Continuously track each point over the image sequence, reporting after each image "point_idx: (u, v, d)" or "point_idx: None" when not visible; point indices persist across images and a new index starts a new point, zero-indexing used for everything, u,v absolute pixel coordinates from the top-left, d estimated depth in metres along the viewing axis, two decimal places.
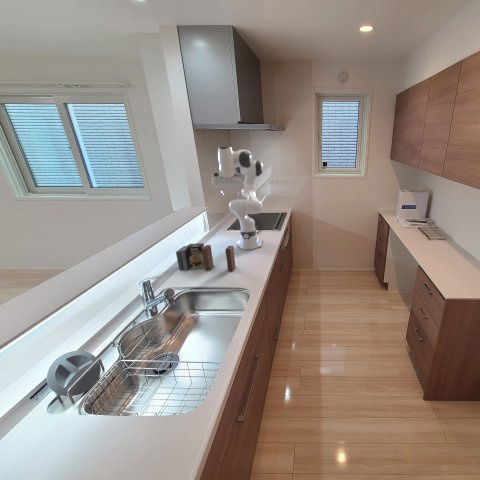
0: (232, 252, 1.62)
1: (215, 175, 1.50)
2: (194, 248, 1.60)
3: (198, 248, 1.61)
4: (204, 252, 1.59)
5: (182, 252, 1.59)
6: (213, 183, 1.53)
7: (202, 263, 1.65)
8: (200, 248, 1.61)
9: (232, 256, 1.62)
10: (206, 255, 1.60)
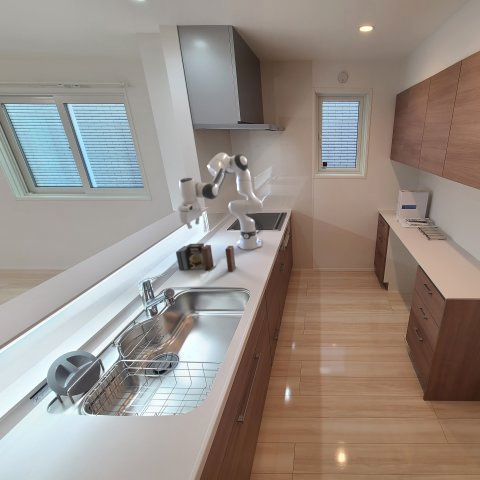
0: (232, 252, 1.62)
1: (190, 209, 1.48)
2: (194, 248, 1.60)
3: (198, 248, 1.61)
4: (204, 252, 1.59)
5: (182, 252, 1.59)
6: (187, 218, 1.47)
7: (202, 263, 1.65)
8: (200, 248, 1.61)
9: (232, 256, 1.62)
10: (206, 255, 1.60)
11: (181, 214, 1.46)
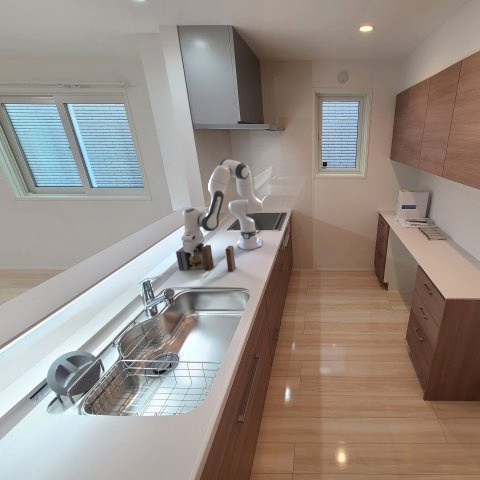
0: (232, 252, 1.62)
1: (193, 238, 1.54)
2: None
3: (198, 248, 1.61)
4: (204, 252, 1.59)
5: (182, 252, 1.59)
6: (190, 247, 1.53)
7: (202, 263, 1.65)
8: (200, 248, 1.61)
9: (232, 256, 1.62)
10: (206, 255, 1.60)
11: (184, 244, 1.52)
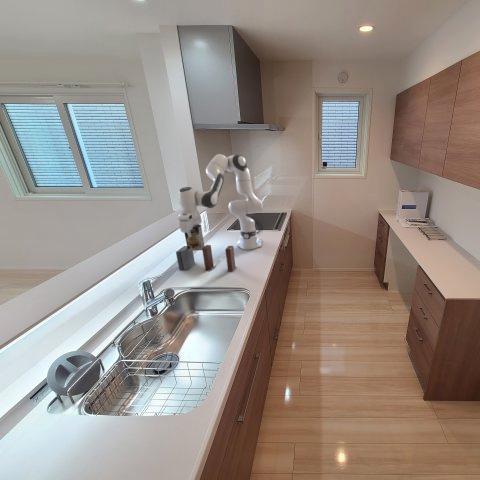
0: (232, 252, 1.62)
1: (190, 218, 1.49)
2: None
3: (195, 229, 1.56)
4: (204, 252, 1.59)
5: (182, 252, 1.59)
6: (187, 227, 1.49)
7: (199, 245, 1.60)
8: (197, 229, 1.56)
9: (232, 256, 1.62)
10: (206, 255, 1.60)
11: (181, 223, 1.47)
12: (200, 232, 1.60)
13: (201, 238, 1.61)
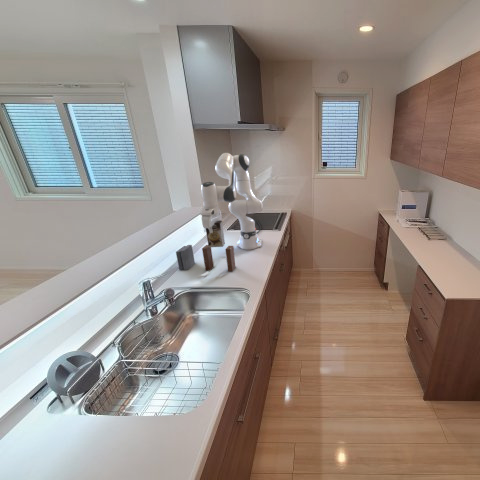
0: (232, 252, 1.62)
1: (212, 213, 1.46)
2: None
3: (216, 224, 1.53)
4: (204, 252, 1.59)
5: (182, 252, 1.59)
6: (209, 222, 1.46)
7: (220, 241, 1.56)
8: (218, 224, 1.53)
9: (232, 256, 1.62)
10: (206, 255, 1.60)
11: (203, 219, 1.44)
12: (221, 228, 1.57)
13: (222, 234, 1.58)
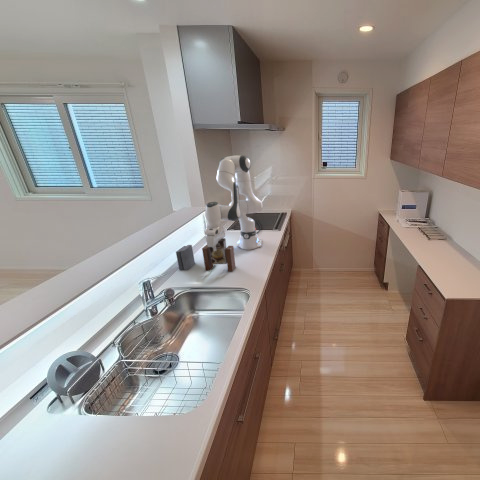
0: (232, 252, 1.62)
1: (216, 233, 1.50)
2: None
3: (220, 243, 1.57)
4: (204, 252, 1.59)
5: (182, 252, 1.59)
6: (213, 242, 1.50)
7: (224, 258, 1.61)
8: (222, 243, 1.57)
9: (232, 256, 1.62)
10: (206, 255, 1.60)
11: (207, 238, 1.48)
12: (225, 246, 1.61)
13: (225, 252, 1.62)
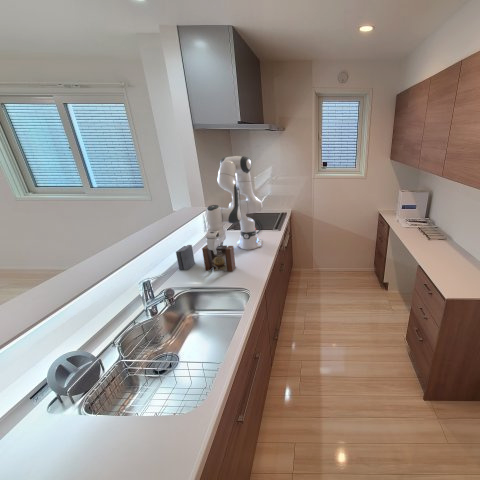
0: (232, 252, 1.62)
1: (217, 236, 1.51)
2: (218, 250, 1.58)
3: (221, 250, 1.58)
4: (204, 252, 1.59)
5: (182, 252, 1.59)
6: (214, 245, 1.51)
7: (225, 265, 1.62)
8: (223, 250, 1.59)
9: (232, 256, 1.62)
10: (206, 255, 1.60)
11: (208, 241, 1.49)
12: None
13: None
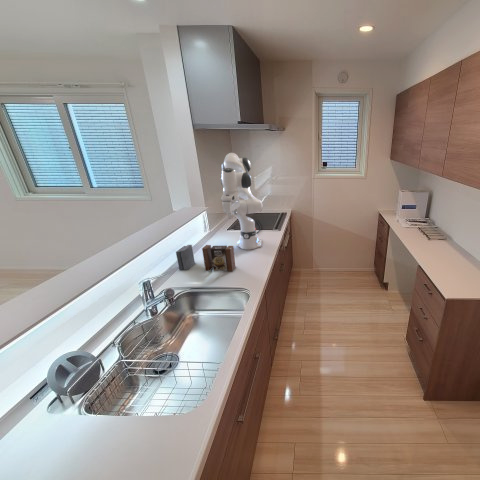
0: (232, 252, 1.62)
1: (232, 199, 1.49)
2: (217, 250, 1.58)
3: (221, 250, 1.58)
4: (204, 252, 1.59)
5: (182, 252, 1.59)
6: (230, 208, 1.48)
7: (225, 265, 1.62)
8: (223, 250, 1.58)
9: (232, 256, 1.62)
10: (206, 255, 1.60)
11: (224, 204, 1.47)
12: None
13: (226, 259, 1.63)
